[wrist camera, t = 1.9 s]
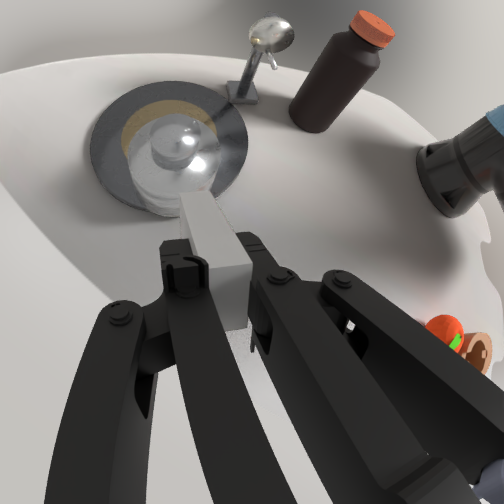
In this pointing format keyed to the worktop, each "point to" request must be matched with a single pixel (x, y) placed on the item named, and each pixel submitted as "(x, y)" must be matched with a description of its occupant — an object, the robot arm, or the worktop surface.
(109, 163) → the grey plate
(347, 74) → the bottle
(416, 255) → the worktop surface
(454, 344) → the clementine
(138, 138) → the cover
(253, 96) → the dial gauge stand
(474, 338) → the bracket
